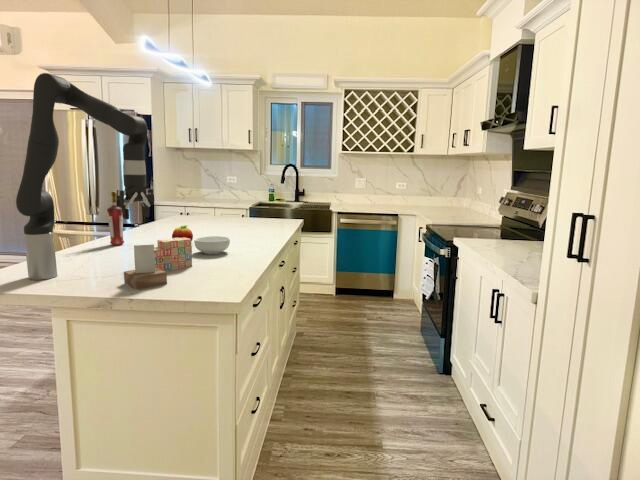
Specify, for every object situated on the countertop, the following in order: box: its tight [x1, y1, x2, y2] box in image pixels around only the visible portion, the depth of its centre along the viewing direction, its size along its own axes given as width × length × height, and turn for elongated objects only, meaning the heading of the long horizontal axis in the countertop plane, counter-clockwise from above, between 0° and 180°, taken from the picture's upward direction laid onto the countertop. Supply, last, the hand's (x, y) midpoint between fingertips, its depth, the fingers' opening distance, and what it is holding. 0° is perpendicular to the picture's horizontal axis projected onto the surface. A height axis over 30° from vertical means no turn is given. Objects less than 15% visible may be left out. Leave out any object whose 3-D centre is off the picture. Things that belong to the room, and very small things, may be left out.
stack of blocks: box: [154, 237, 193, 272], centre depth 182 cm, size 21×6×12 cm, turn 131°
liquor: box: [106, 191, 125, 246], centre depth 227 cm, size 7×7×28 cm
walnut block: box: [123, 268, 168, 291], centre depth 160 cm, size 11×11×5 cm
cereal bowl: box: [193, 235, 231, 255], centre depth 214 cm, size 17×17×7 cm
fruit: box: [171, 225, 194, 242], centre depth 233 cm, size 11×11×10 cm
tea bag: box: [133, 244, 155, 274], centre depth 159 cm, size 4×7×10 cm, turn 111°
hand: (136, 218), depth 159 cm, fingers open, 8 cm apart
